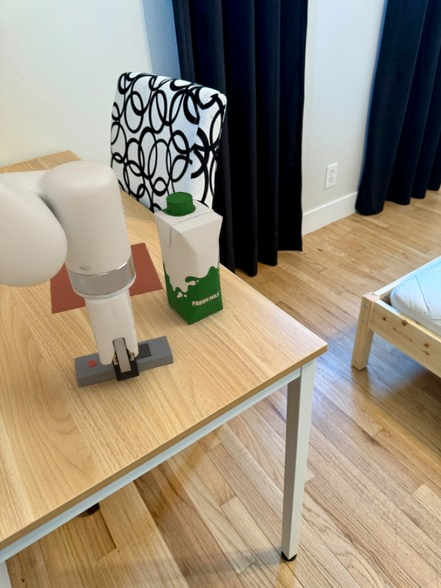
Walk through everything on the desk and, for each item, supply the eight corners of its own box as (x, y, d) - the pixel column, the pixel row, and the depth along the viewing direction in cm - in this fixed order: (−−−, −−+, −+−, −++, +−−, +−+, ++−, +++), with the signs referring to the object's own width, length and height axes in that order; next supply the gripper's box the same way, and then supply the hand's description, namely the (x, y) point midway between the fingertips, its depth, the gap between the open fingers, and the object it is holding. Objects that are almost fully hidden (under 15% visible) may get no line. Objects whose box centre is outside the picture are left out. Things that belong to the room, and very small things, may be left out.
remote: (79, 387, 62) (75, 378, 60) (77, 366, 65) (73, 357, 64) (173, 362, 65) (172, 353, 64) (167, 343, 68) (165, 334, 67)
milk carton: (201, 285, 80) (195, 184, 68) (230, 310, 74) (229, 204, 62) (161, 303, 76) (146, 199, 64) (188, 331, 70) (177, 222, 58)
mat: (52, 314, 75) (51, 313, 75) (49, 261, 89) (49, 261, 89) (163, 289, 80) (163, 288, 80) (144, 242, 94) (144, 242, 93)
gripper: (66, 245, 55) (96, 346, 66) (73, 316, 44) (107, 424, 55) (124, 234, 57) (144, 334, 68) (145, 299, 46) (164, 407, 57)
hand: (127, 374), depth 62 cm, fingers closed
